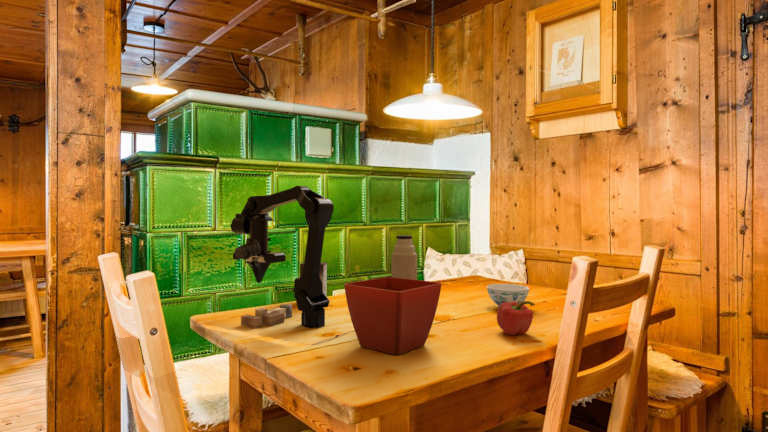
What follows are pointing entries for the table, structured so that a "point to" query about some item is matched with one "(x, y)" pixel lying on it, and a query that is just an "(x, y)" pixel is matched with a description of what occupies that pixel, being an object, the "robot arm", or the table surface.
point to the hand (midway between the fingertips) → (258, 282)
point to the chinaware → (507, 293)
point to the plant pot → (392, 312)
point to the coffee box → (322, 275)
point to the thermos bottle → (404, 258)
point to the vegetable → (514, 317)
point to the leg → (282, 309)
